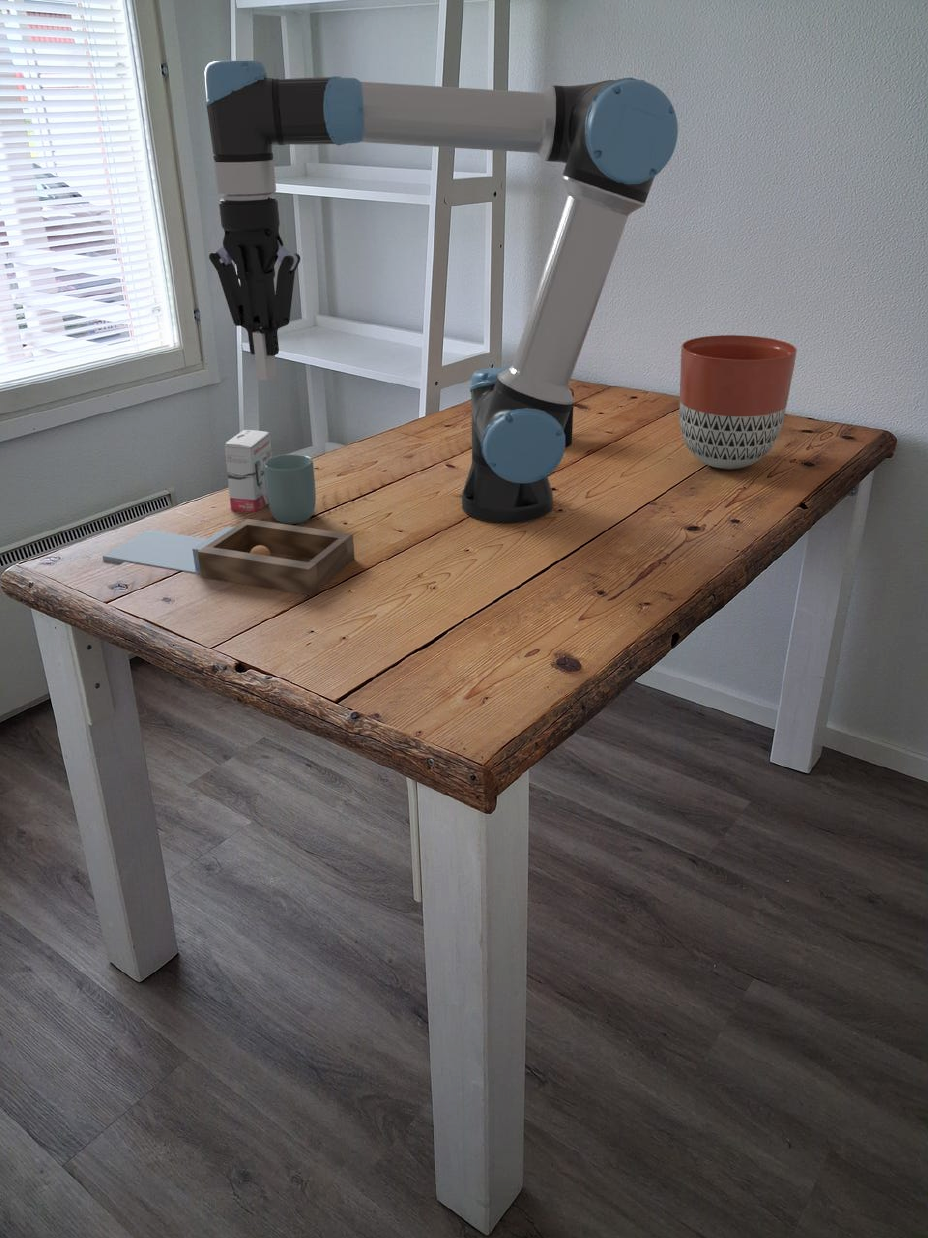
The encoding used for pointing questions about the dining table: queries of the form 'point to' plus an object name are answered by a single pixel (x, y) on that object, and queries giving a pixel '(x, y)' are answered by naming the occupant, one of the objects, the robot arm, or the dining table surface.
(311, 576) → the box
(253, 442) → the ink box
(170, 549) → the lid
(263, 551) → the ball
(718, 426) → the planter
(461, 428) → the dining table surface
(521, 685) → the dining table surface
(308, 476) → the cup
